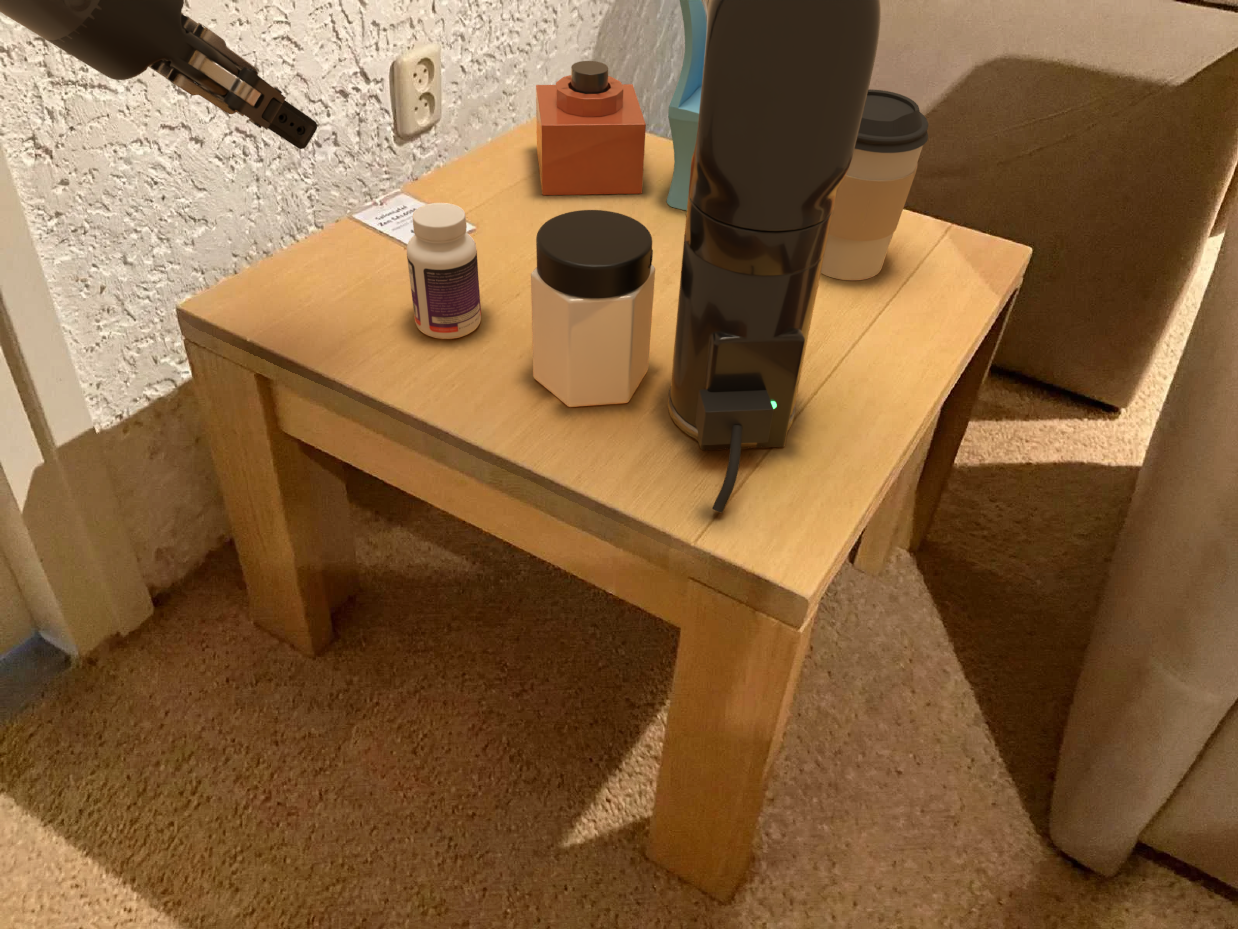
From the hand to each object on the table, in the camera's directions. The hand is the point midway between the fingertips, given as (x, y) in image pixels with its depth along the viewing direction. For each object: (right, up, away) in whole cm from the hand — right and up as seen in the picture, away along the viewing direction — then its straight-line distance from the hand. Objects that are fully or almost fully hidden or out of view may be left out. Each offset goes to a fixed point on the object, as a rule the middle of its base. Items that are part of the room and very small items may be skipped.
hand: (305, 134), depth 70 cm
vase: (+31, +4, +31) cm, 44 cm away
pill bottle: (+8, -12, +12) cm, 19 cm away
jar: (+20, -16, +8) cm, 27 cm away
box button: (+19, +14, +28) cm, 36 cm away
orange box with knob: (+19, +7, +34) cm, 39 cm away
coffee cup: (+43, -5, +22) cm, 48 cm away
